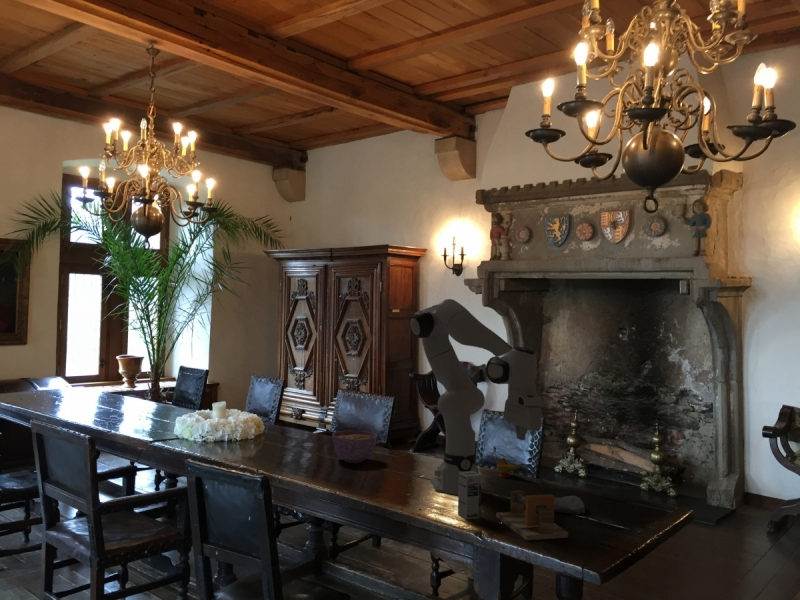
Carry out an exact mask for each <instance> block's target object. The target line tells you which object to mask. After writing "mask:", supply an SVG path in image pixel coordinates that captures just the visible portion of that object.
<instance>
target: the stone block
mask: <svg viewBox="0 0 800 600" xmlns="http://www.w3.org/2000/svg"><path fill="white" fill-rule="evenodd" d="M554 513H562V514H573V515H581V513H583V514H586V509H585V503H584V502H583V500H582V499H581V498H580V497H579V496H576V495H566V496H562V497H555V496H554Z"/></svg>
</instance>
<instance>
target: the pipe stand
mask: <svg viewBox="0 0 800 600" xmlns="http://www.w3.org/2000/svg"><path fill="white" fill-rule="evenodd" d="M525 496H526V495H525V491H524V490H520V489H519V490H510V502H509V504H510V507H509V509H510V510H509V511H503V512H501V511H500V512H496V518H497V519H498V520H499V521H501V522H503V524H505V525H506V526H507V527H508V528H510V529H511V530H513V532H515V533H516V534H518V535H519V536H520V537H521V538H523V539H524V540H525V541H536V540H537V541H538V540H552V539H564V538H569V532H568V531H566V530H565V529H563V527H560V526H558V525H557V524H556V523H555V512H554V510H552V509H544V508H543V506H536V515H539V526H529V527H527V526H526V525H525V524H524V523H525Z"/></svg>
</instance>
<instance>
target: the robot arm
mask: <svg viewBox="0 0 800 600" xmlns="http://www.w3.org/2000/svg"><path fill="white" fill-rule="evenodd" d="M409 327H410V330H411V332H412V334H413V335H414V336H415V337H416V338H418V339H421V341H422V342H421V343H422V347H423V351H424V354H425V356H426V360H427V361H428V364H429V366H430V369H431V371H432V372H433V373H432V374H433V376H434V377H435V380H437V382H438V383H440V384H441V386H443V387H444V389H445V390H446V391H445V392H444V393H442V394H441V395H440V396H439V397H438V400H437V409H438V411H439V413H440V414H441V416H442V417H443V422H444V426H445V451H444V454H443V461H442V463H441V464H440V465H439V466H438V467H437V469H436V470H434V473H433V474H434V477H433V478H431V479H430V483H431V484H432V486H433V487H432V488H433V490H434V491H435V492H439V493H445V494H449V495H458V485H459V472H472V471H474V472H477V473H479V474H480V472H479V471H480V470H479V467H478V466H477V465H476V464H477V463H476V462H477V457H476V432H475V430H474V428H473V426H472V421H471V415H474V414H476V413H478V412H479V411H481V410H482V408H483V407H484V405H485V402H486V399H485V397H486V396H485V394H484V392H483V391H482V390H481V389H480V388H478V387H477V386H476V384H475V383H474V382H473V381H472V379H471V378H470V377H469V375H468V374H467V372H466V371H465V370H464V367H463V366H462V364H461V362H460V360H459V357H458V355H457V353H456V351H455V349H454V347H453V345H452V342H451V340H450V338H449V337H451V338H452V339H453V340H454V341H455V342H457V343H459V344H460V345H463V346H467V347H468V346H469V347H474V348H479V349H483V350H486V351H488V352H489V353H491V354H492V355H494V356H492V357H490V358H489V359H488V361H487V362H486V366H485V373H486V376H487V378H488V380H489V381H490V382H491V383H493V384H495V385H508V396H507V399H506V400H505V401H504V408H503V409H504V410H503V419H504V420H505V421H507V422H508V423H511V424H513V425H514V430H515V432H516V439H517V440H519V441H525V440H526V436H527V432H528V431H530V432H533V431H534V432H536V431H537V432H538V431H540V430H541V428H542V421H543V419H542V418H543V415H542V414H543V412H542V411H543V410H542V407H543V406H544V401H543V399H542V398H541V396H540V395H539V394H538V393H537V386H536V379H537V376H538V375H537V374H538V362H537V355H536V352H535V351H534V350H533V349H531V348H528V347H523V346H514V347H512V346H511V345H510V344H509V343H508V342H507V341H506V340H504V339H503V338H501V336H499V335H498V334H497V333H495V332H494V331H493V330H492V329H490V328H489V327H487V326H486V325H485V324H484V323H482V322H481V321H480V320H479V319H478V318H476V317H475V316H474V315H473V314H472V313H471V312H470V311H469V310H468V309H467V308H466V307H465V306H463V305H462V304H461V303H460V302H458V301H456V300H455V299H452V298H448V299H447V298H446V299H444V300H442V301H440V303H439V304H434V305H431V306H430V307H426V308H425V309H422V310H418V311H416V312H414V313H412V314H411V316H410V319H409ZM481 491H483V486H482V485H481Z"/></svg>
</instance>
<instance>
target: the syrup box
mask: <svg viewBox="0 0 800 600" xmlns="http://www.w3.org/2000/svg"><path fill="white" fill-rule="evenodd" d="M482 475H483V474H481V473H480V472H479V473H477V472H474V471H472V472H459V485H458V498H457V515H458V516H459V517H460V518H462V519H463V520H465V521H469V520H476V519H481V517H482V490H481V486H482V479H483V478H482Z"/></svg>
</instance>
